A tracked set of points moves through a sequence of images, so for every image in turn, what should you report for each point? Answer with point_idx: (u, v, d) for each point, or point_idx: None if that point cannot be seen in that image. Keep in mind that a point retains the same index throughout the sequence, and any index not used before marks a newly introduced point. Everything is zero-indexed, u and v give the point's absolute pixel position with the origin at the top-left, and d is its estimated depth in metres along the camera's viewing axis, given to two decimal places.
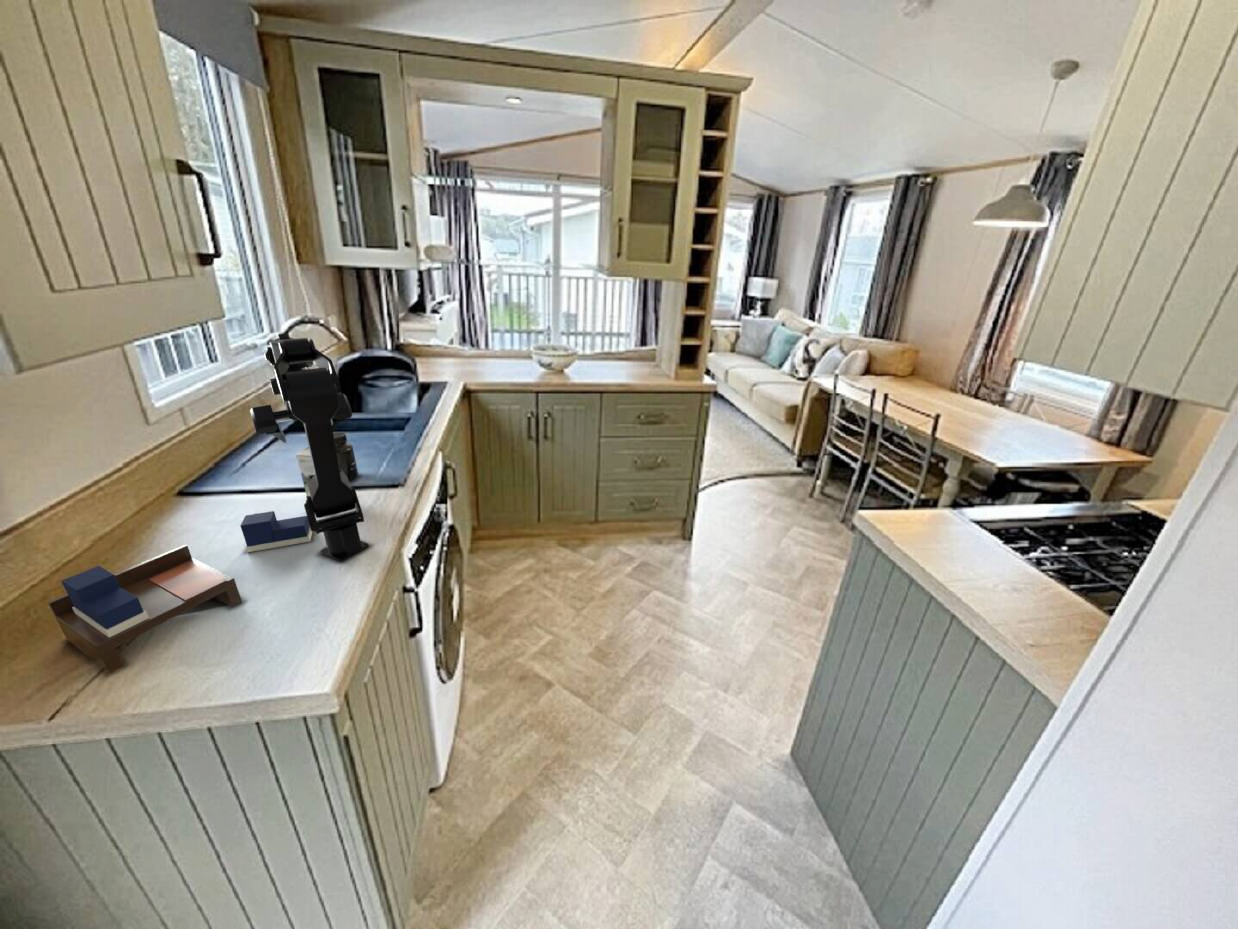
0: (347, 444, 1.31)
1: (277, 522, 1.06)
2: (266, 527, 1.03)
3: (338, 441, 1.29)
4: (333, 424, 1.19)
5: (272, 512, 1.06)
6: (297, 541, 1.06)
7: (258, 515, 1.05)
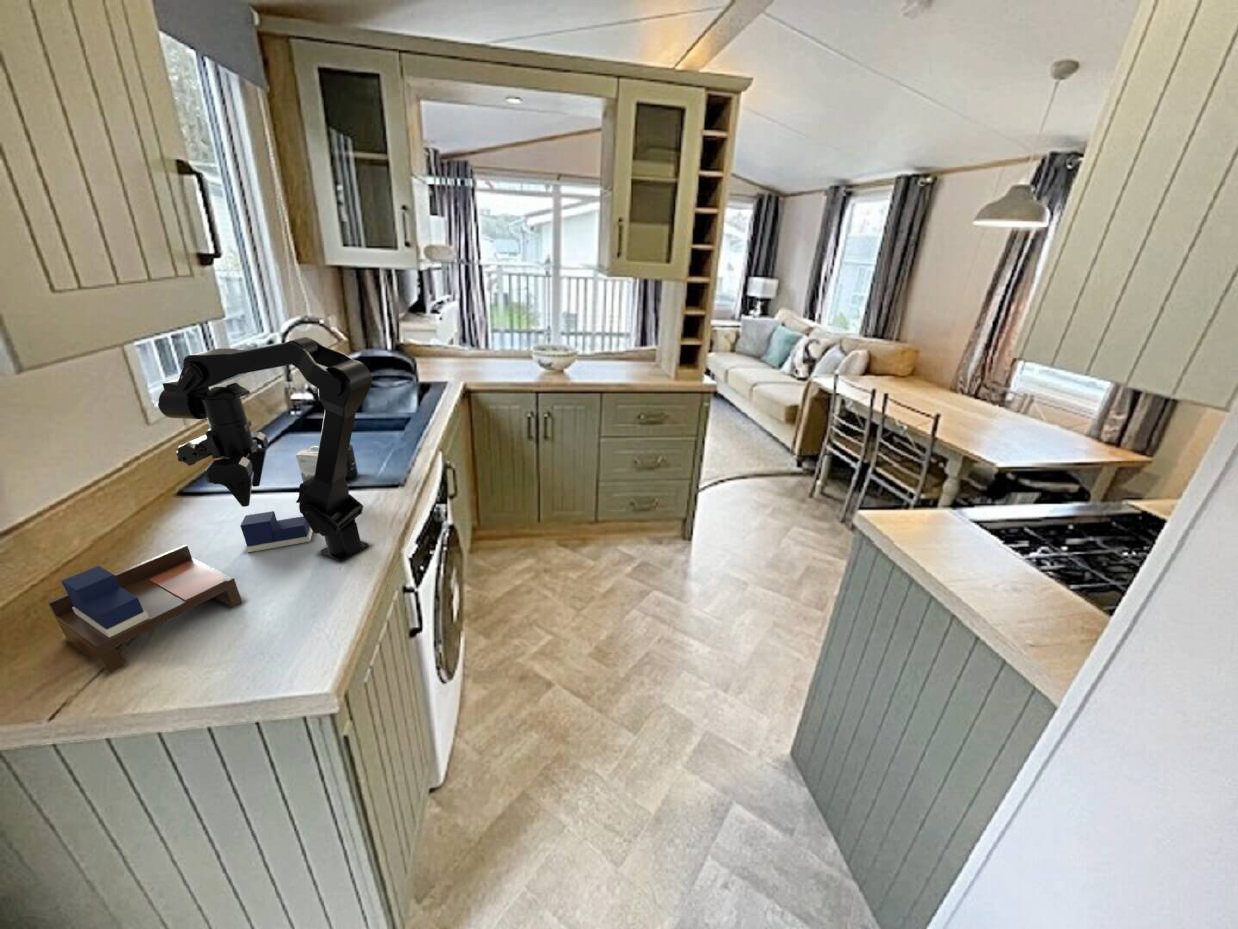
0: None
1: (277, 522, 1.06)
2: (266, 527, 1.03)
3: None
4: (264, 457, 1.05)
5: (272, 512, 1.06)
6: (297, 541, 1.06)
7: (258, 515, 1.05)
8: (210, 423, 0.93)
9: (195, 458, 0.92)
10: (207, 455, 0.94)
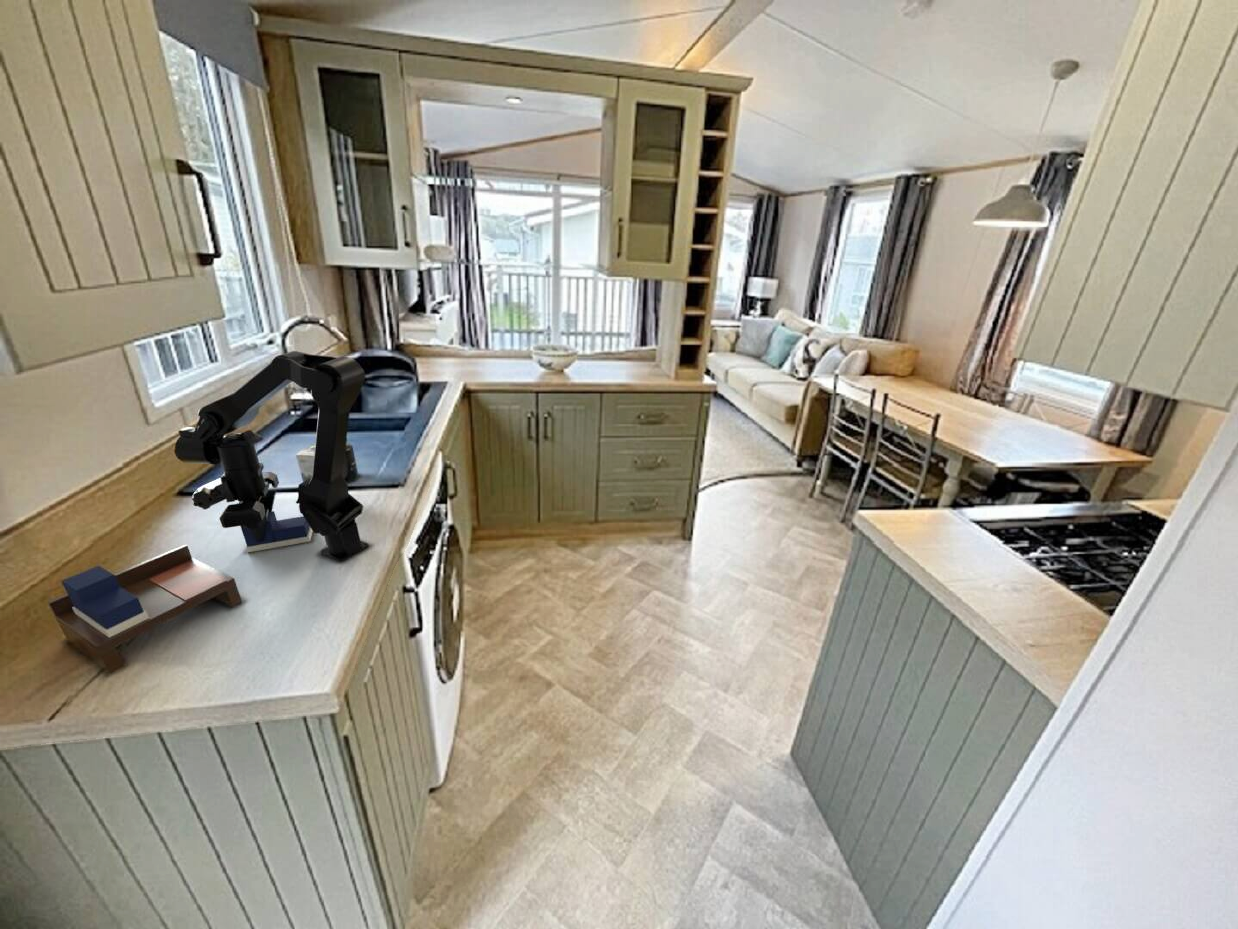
0: (347, 444, 1.31)
1: (277, 522, 1.06)
2: (266, 527, 1.03)
3: None
4: (273, 502, 1.06)
5: (272, 512, 1.06)
6: (297, 541, 1.06)
7: None
8: (225, 469, 0.97)
9: (210, 503, 0.96)
10: (221, 499, 0.98)
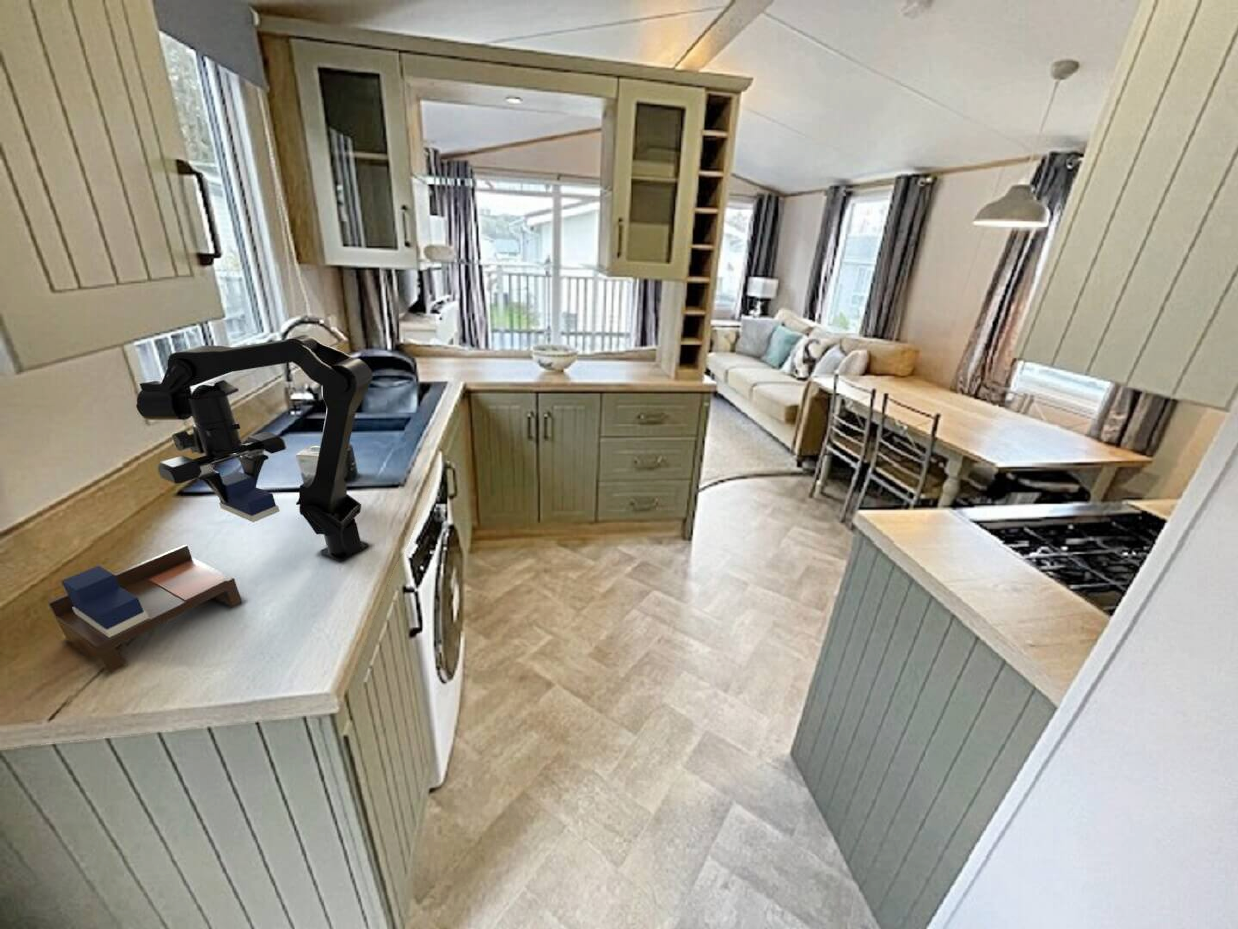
0: None
1: (250, 489, 0.98)
2: (226, 491, 0.95)
3: None
4: (255, 467, 0.98)
5: (249, 477, 0.98)
6: (245, 517, 0.95)
7: (239, 475, 0.98)
8: None
9: (181, 448, 0.94)
10: None
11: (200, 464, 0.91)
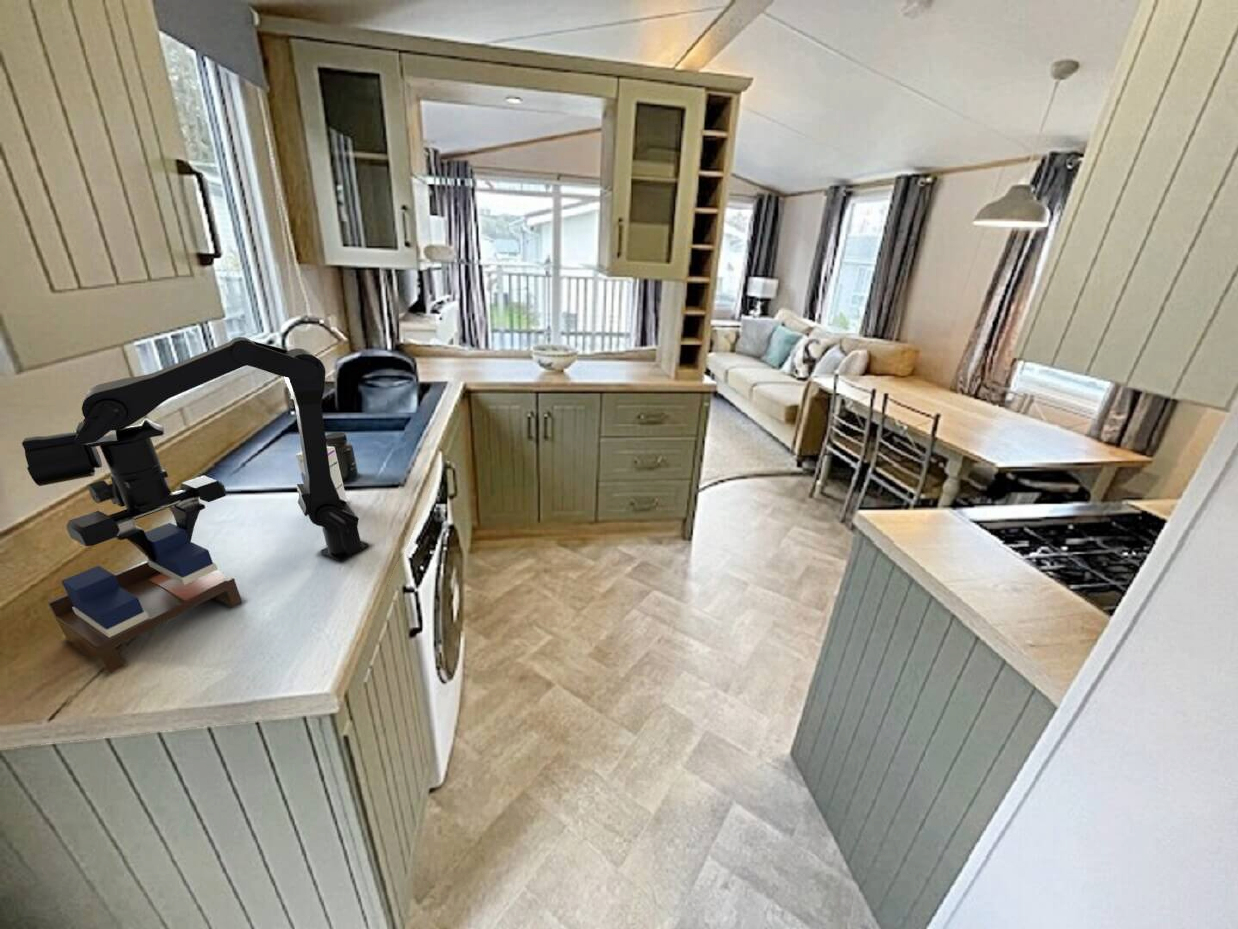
0: (347, 444, 1.31)
1: (183, 545, 0.85)
2: (153, 548, 0.82)
3: (338, 441, 1.29)
4: (188, 519, 0.85)
5: (181, 531, 0.85)
6: (176, 578, 0.82)
7: (170, 528, 0.85)
8: None
9: (98, 501, 0.80)
10: None
11: (119, 520, 0.78)
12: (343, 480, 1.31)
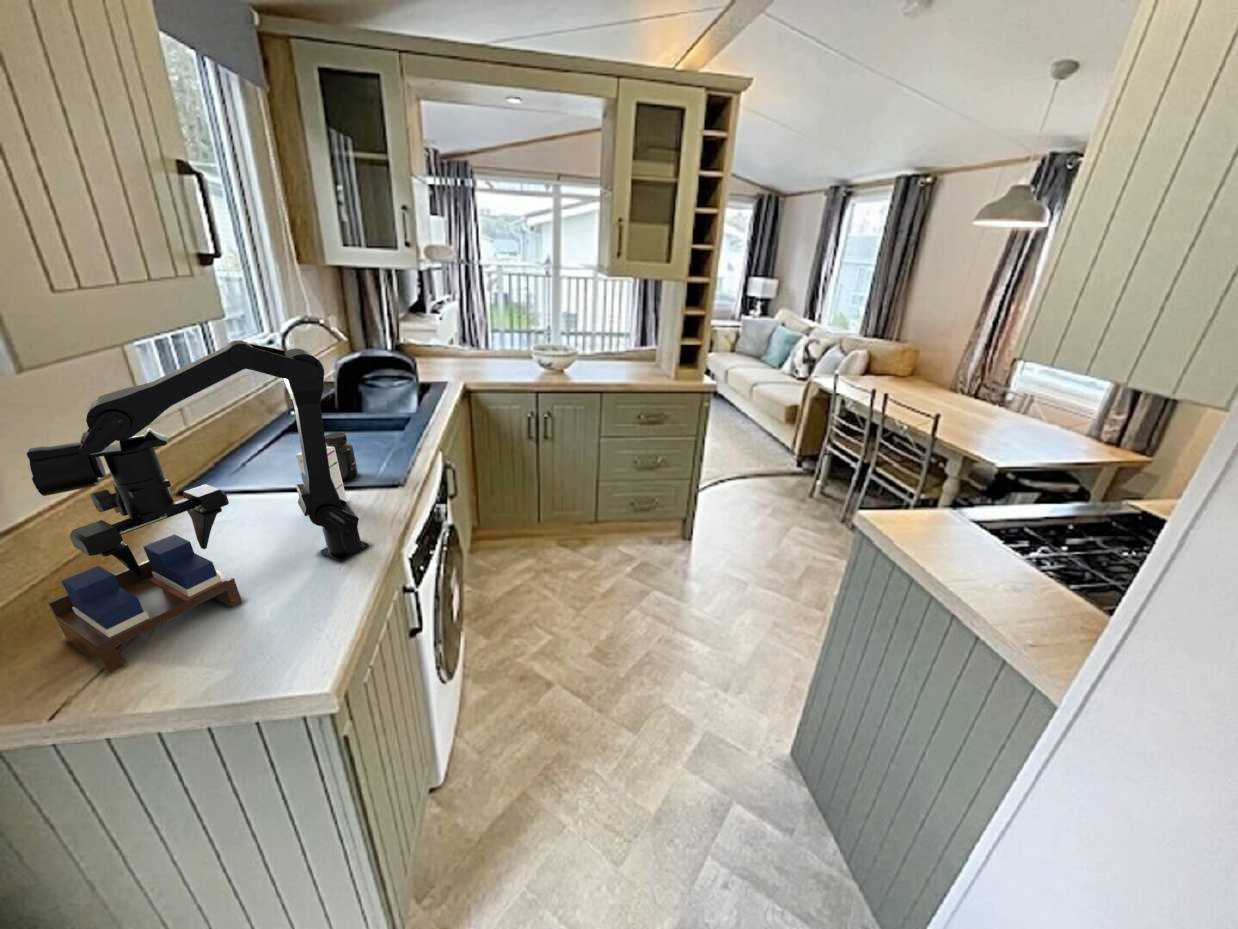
0: (347, 444, 1.31)
1: (187, 556, 0.86)
2: (158, 560, 0.83)
3: (338, 441, 1.29)
4: (206, 522, 0.87)
5: (185, 543, 0.86)
6: (180, 590, 0.83)
7: (174, 540, 0.86)
8: None
9: (101, 510, 0.81)
10: None
11: None
12: (343, 480, 1.31)
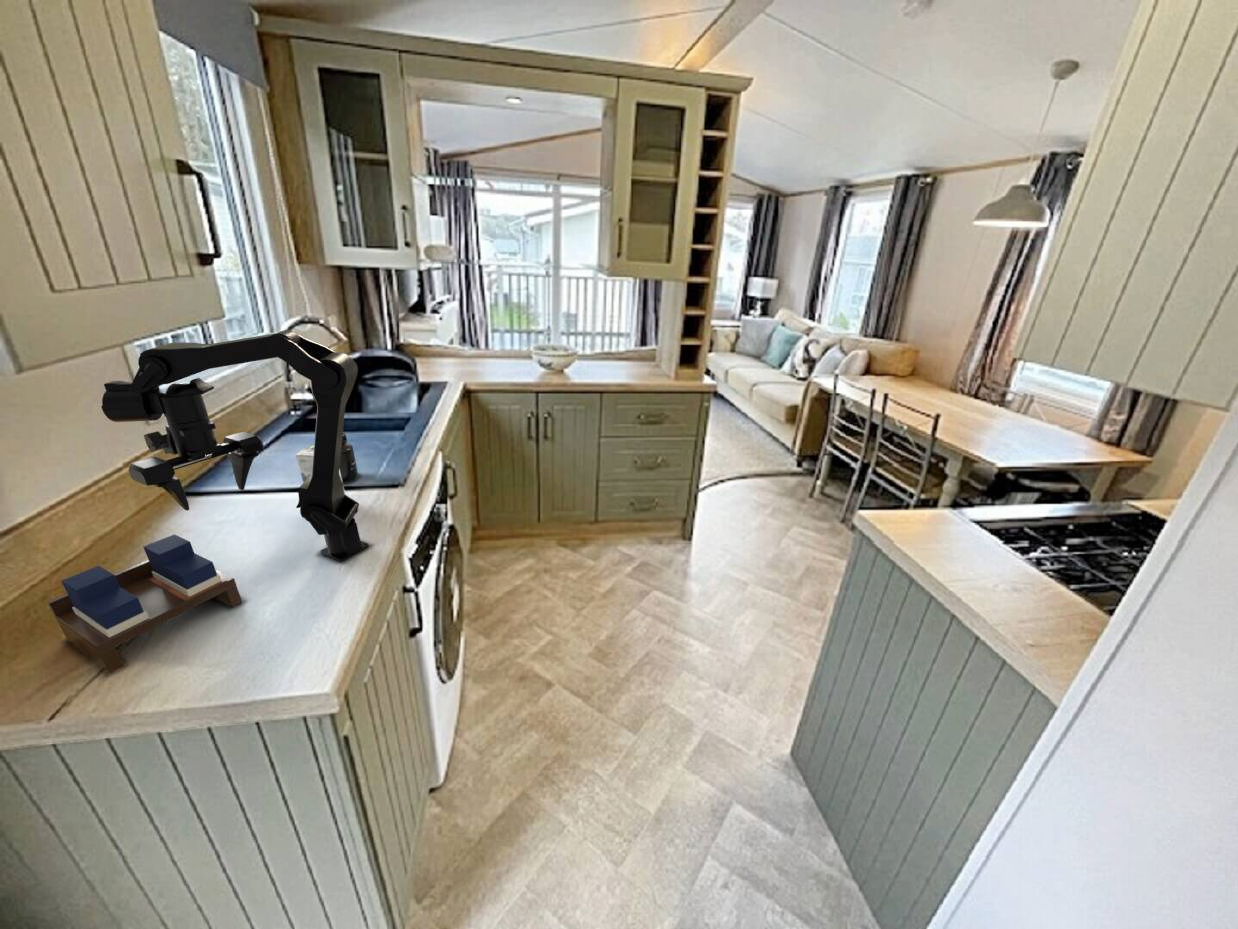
0: (347, 444, 1.31)
1: (187, 556, 0.86)
2: (158, 560, 0.83)
3: None
4: (244, 464, 0.97)
5: (185, 543, 0.86)
6: (180, 590, 0.83)
7: (174, 540, 0.86)
8: None
9: (153, 449, 0.90)
10: None
11: None
12: (343, 480, 1.31)
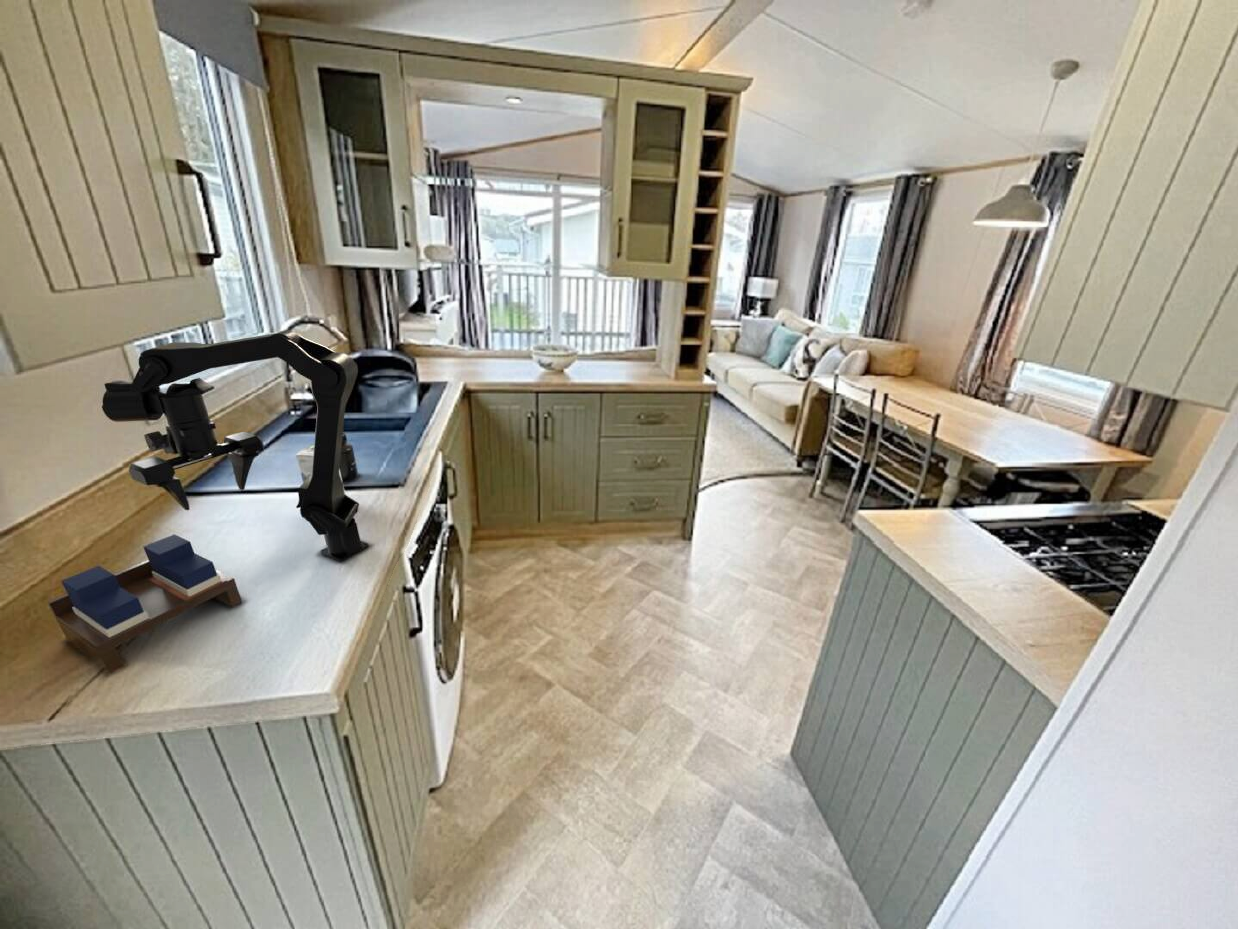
0: (347, 444, 1.31)
1: (187, 556, 0.86)
2: (158, 560, 0.83)
3: None
4: (244, 464, 0.97)
5: (185, 543, 0.86)
6: (180, 590, 0.83)
7: (174, 540, 0.86)
8: None
9: (154, 449, 0.91)
10: None
11: None
12: (343, 480, 1.31)
